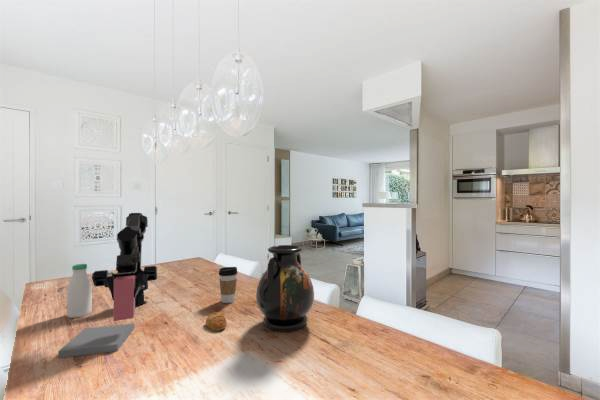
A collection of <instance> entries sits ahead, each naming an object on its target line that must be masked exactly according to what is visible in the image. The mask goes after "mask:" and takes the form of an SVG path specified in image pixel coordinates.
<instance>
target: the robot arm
mask: <svg viewBox="0 0 600 400" xmlns="http://www.w3.org/2000/svg"><path fill="white" fill-rule="evenodd" d="M148 221H149V220H148V217H147V216H145V215H143V213H141V212H130V213H129V214H128V216H126V218H125V226H124V228H122V229H121V230H119V232H118V233H117V234H116V240H117V241H116V242H117V244H118V248H119V251H120V252H119V254H118V255H116V262H115V265H116V267H115V271H116V272H109V271H108V269H103V270H95V271H94V272H92V275H91V280H92V283H93V286H94V287H104V288H108V289H109V292H110V295H111V299H112V301H114V279H115V278H116V277H123V276H133V275H135V289H134V298H135V308H136V307H138V306H141V305H144V304H147V301H146V300H145V291H146V290H149V282H151V281H156V280H157V279H158V266H156V265H148V266H147V265H146V266H144V267H143V269H142V246H143V244H142V243H143V241H144V239H145V233H146V232H147V228H148V225H149V224H148Z"/></svg>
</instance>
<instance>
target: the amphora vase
mask: <svg viewBox="0 0 600 400" xmlns="http://www.w3.org/2000/svg"><path fill="white" fill-rule="evenodd" d="M267 251H268V253H270V254H272V256H273V257H270V259H269V260H268V262H267V268H266V270H264V272H263V274H262V275H261V277H260V278H259V281H258V284H257V287H256V292H255V293H256V295H255V298H256V300H255V302H256V305H257V307H258V309H259V311H260V312H261V314H262V315H263V316H264V317H263V318H262V319H263V320H262V321H263V322H262V323H263V325H264V326H265V327H267V328H268V329H269V330H272V331H277V332H293V331H296V330H298V329H299V330H300V329H301V328H303V327H304V326H305V325H307V323H308V316H307V314H308V313H309V312H310V310H311V309H312V308H313V305H314V303H315V302H314V301H315V290H314V285H313V282H312V280H311V277H310V275H309V274H308V272H307V271H306V270H305V269H304V268H303V267H302V265H301V264H302V262H301V261H302V260H301V255H300V253H301V252H302V251H303V247H301V246H299V245H293V244H290V245H289V244H280V245H279V244H278V245H273V246H270V247H268V248H267Z"/></svg>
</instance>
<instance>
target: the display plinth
mask: <svg viewBox="0 0 600 400" xmlns="http://www.w3.org/2000/svg"><path fill="white" fill-rule="evenodd" d="M134 330H135V323H126V324H114V325H106V326H105V325H104V326H93V327H87V328H84V329H82V331H79V332H78V333H77V334H76V335H75V337H73V338H72V339H71V340H69V342H67V343H66V344H65V345H64V346H63V347H62V348H60V349H59V350H58V359H61V358H62V359H63V358H71V357H78V356H86V355H87V356H88V355H94V354H95V355H96V354H102V353H103V354H104V353H111V352H118V351H119V350H120V348H121V347H122V345H124V343H125V342H126V341H127V339H128V338H129V336H130V335H131V333H132V332H133V331H134Z"/></svg>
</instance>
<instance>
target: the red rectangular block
mask: <svg viewBox="0 0 600 400" xmlns="http://www.w3.org/2000/svg"><path fill="white" fill-rule="evenodd" d="M134 289H135V275H133V276H123V277H116V278H115V279H114V300H113V322H116V321H117V322H119V321H124V320H131V319H134V318H135V314H136V307H135V298H134Z"/></svg>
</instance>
